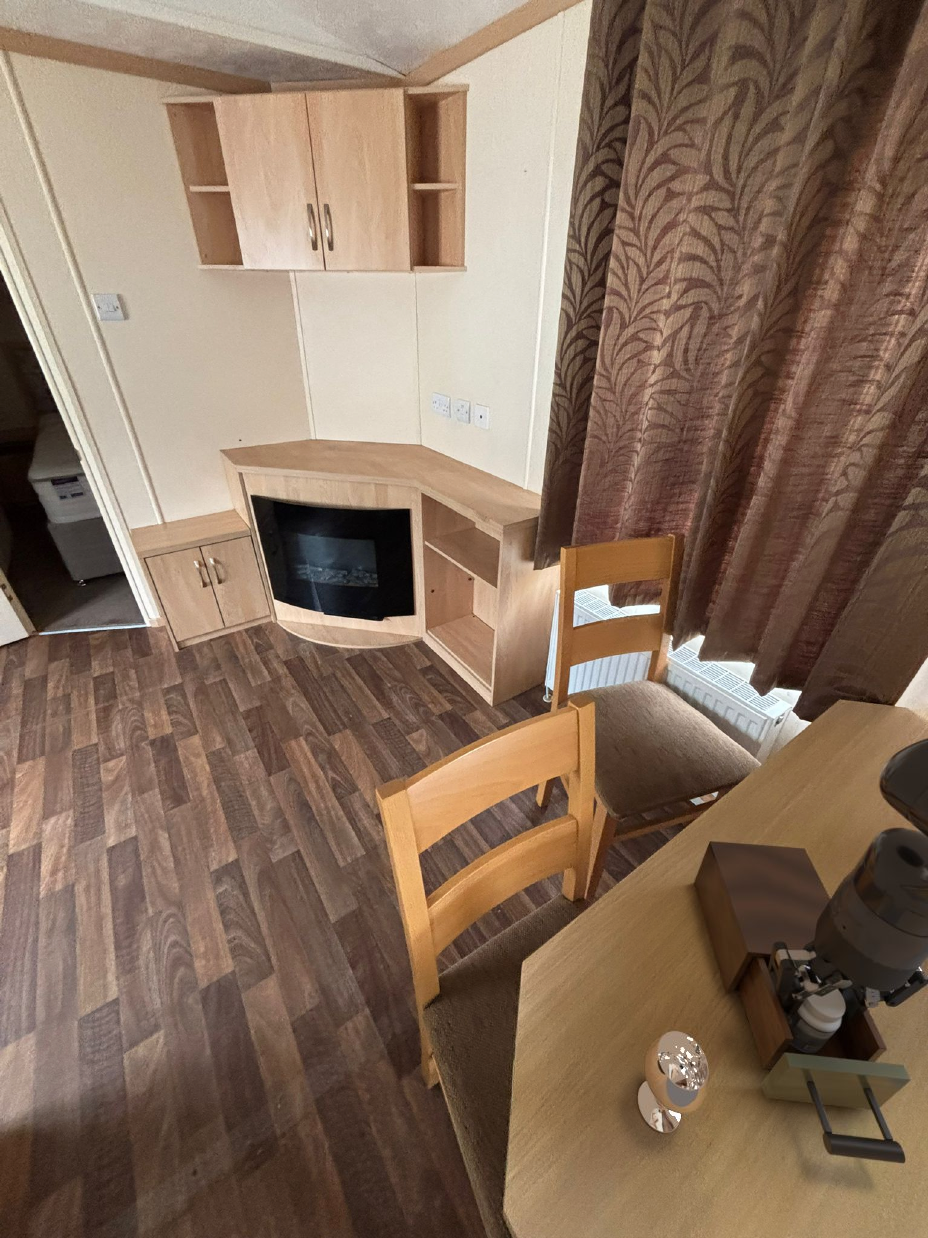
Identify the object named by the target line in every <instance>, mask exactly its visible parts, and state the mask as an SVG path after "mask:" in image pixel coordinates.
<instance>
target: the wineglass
mask: <svg viewBox="0 0 928 1238" xmlns="http://www.w3.org/2000/svg"><path fill="white" fill-rule="evenodd" d="M644 1075H645V1081H644V1082H643V1083H641V1085H640V1086H639V1089H638V1092H637V1105H638V1108H639V1112H640V1115H641V1116H642V1118H643V1119H644V1121H645V1123H647V1125H648V1126H650V1128H652V1129H653V1130H655V1131H656V1132H659V1133H662V1134H669V1133H673V1132H674V1131H675V1130H676V1129H677V1128H678V1126H679V1125H680V1122H681V1118H682V1115H688V1114H691V1113H693V1112H695V1111H696V1110H698V1109H699V1108H700V1107H701V1106H702V1104H703V1103H704V1101H705V1099H706V1097H707V1093H708V1090H709V1082H710V1071H709V1063H708V1060H707V1057H706V1055H705V1053H704V1050H703V1049H702V1047H701V1046H700V1044H698V1042H697V1041H696V1040H695V1039H694V1038H693V1037H692V1036H690V1035H689V1034H687V1033H685V1032H682V1031H677V1030H671V1031H667V1032H665V1033H663V1034H662V1035H660V1036H658V1037H657V1038H656V1039H655V1040H654V1041H653V1042H652V1043H651V1044H650V1046H649V1048H648V1050H647V1052H646V1055H645V1060H644Z"/></svg>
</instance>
